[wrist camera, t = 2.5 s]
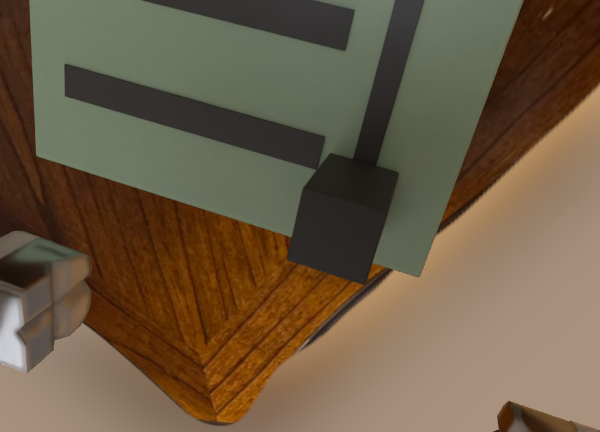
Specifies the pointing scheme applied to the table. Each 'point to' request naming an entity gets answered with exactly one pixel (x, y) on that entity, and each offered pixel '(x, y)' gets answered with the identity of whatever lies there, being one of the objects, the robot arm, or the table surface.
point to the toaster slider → (342, 217)
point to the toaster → (269, 99)
